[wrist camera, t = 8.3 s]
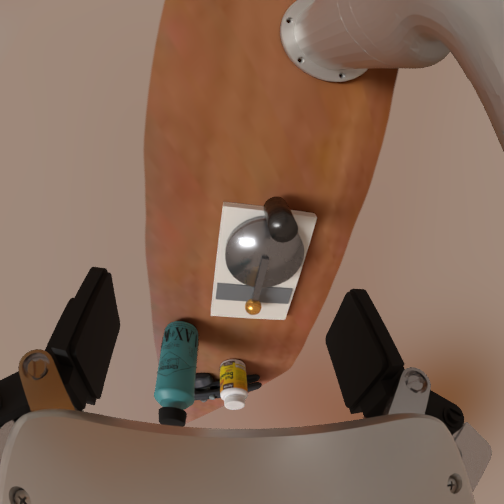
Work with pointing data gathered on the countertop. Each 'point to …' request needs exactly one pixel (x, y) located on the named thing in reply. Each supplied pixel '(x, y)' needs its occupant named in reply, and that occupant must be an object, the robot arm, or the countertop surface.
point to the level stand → (236, 293)
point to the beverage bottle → (176, 372)
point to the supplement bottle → (233, 383)
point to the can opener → (217, 386)
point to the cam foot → (265, 250)
